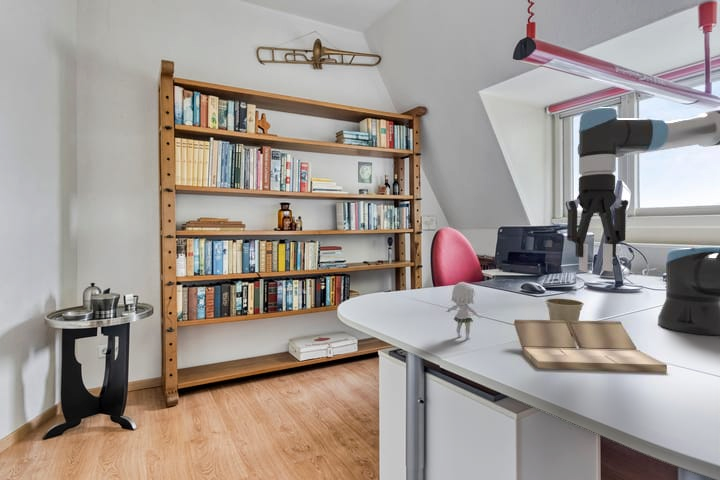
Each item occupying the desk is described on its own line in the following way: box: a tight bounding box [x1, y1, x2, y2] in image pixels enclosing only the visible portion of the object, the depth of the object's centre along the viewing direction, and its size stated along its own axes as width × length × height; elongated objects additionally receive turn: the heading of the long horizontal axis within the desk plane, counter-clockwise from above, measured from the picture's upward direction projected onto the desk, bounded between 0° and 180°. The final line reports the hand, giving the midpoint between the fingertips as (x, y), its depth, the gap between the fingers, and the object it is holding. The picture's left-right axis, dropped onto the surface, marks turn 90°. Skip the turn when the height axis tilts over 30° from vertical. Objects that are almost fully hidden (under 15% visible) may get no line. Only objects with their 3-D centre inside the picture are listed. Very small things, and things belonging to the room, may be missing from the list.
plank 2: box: [568, 320, 638, 350], centre depth 89 cm, size 12×8×2 cm
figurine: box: [445, 281, 482, 340], centre depth 99 cm, size 10×6×15 cm, turn 47°
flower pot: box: [545, 297, 585, 335], centre depth 104 cm, size 9×9×9 cm
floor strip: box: [523, 347, 668, 373], centre depth 81 cm, size 25×9×2 cm, turn 84°
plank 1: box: [513, 319, 578, 351], centre depth 90 cm, size 12×8×2 cm
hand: (595, 270), depth 91 cm, fingers open, 5 cm apart
